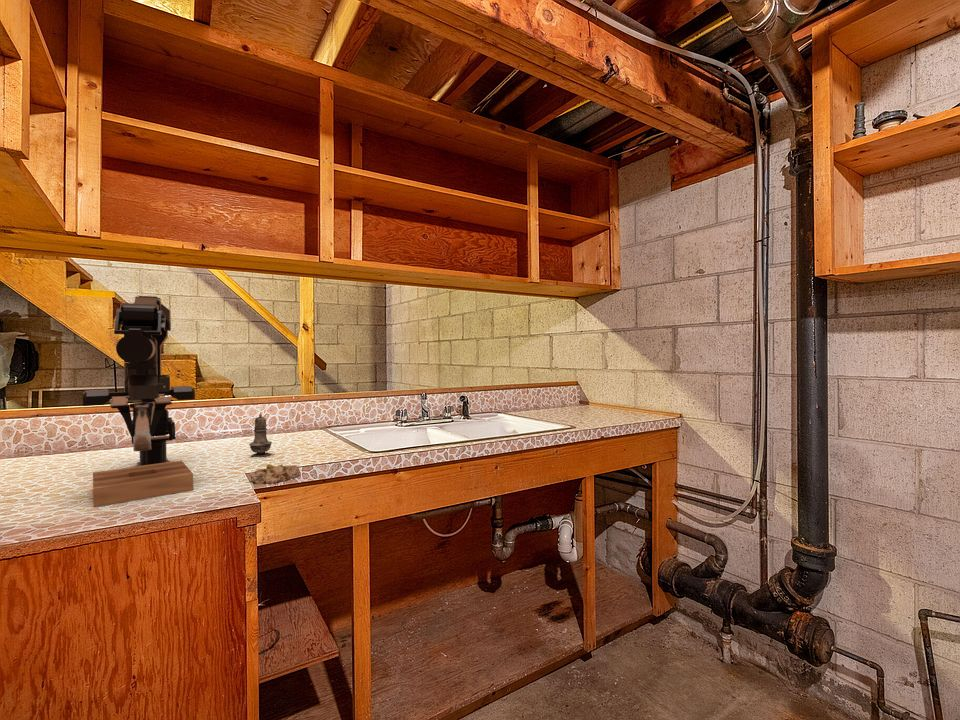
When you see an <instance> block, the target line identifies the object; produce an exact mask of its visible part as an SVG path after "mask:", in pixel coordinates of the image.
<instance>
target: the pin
mask: <svg viewBox="0 0 960 720" xmlns="http://www.w3.org/2000/svg"><path fill="white" fill-rule="evenodd" d="M152 406H153V402H142V401H141V402H131V403H129V407H130V409H132V420H133V430H134V436H133V444H132V445H133V452H140V451H146V450H150V449H151V412H150V407H152Z"/></svg>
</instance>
